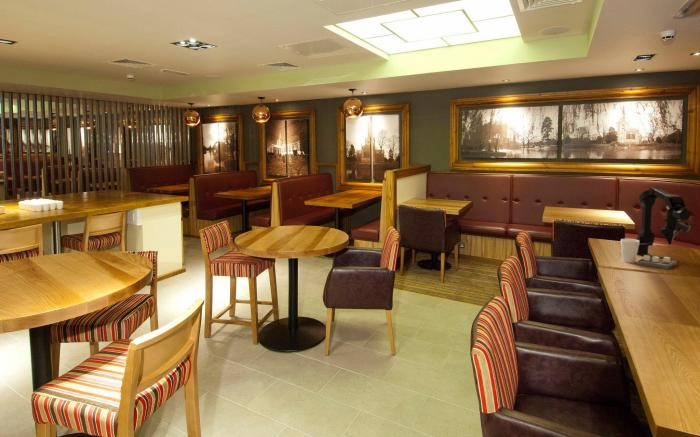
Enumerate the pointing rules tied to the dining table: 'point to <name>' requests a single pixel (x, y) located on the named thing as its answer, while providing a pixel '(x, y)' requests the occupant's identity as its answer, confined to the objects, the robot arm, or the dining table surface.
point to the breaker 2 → (666, 259)
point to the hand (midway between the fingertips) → (670, 244)
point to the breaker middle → (655, 259)
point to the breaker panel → (657, 263)
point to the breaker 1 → (646, 257)
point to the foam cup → (629, 250)
